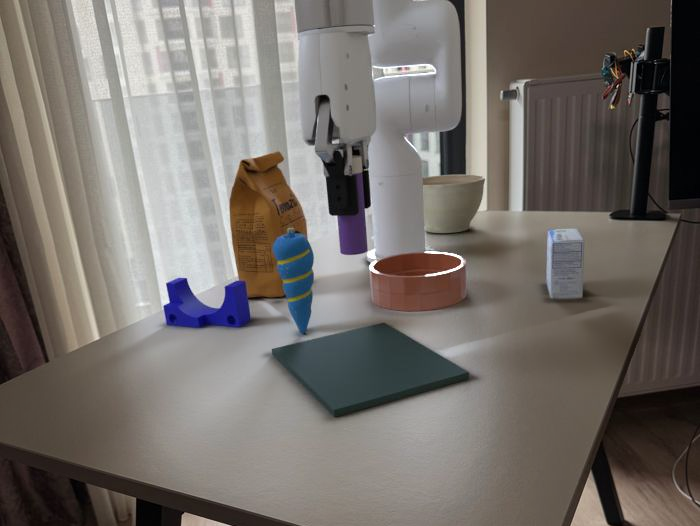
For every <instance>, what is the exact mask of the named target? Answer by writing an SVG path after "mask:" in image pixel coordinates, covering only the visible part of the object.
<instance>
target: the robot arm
mask: <svg viewBox="0 0 700 526" xmlns="http://www.w3.org/2000/svg"><path fill="white" fill-rule="evenodd" d="M293 3H294V11H295V23H296V33H297V40H298V42H299V43H298V62H297V63H298V65H297V66H298V67H297V69H298V96H299V97H298V98H299V111H300V114H299V115H300V126H301V137H302V140H303V142H304V143H305V144H306V145H308V146H309V147H313V146H314V153H315V155H316V156H318V158H319V159H320V160H321V163H322V169H323V170H322V171H323V175H324V177H325V184H326V185H325V186H326V195H327V196H326V197H327V206H328V207H327V208H328V214H329V215H330V216H333V217H337V216H346V215H357V214H358V213H359V201H358V188H357V175H352V173H353V164H352V156H361V157H362V177H363V191H364V205H365V210H366V209H369V208H371V217H372V230H373V231H372V232H373V234H372V235H371V237H370V238H371V240H372V241H373V245H374V248H373V249H371V250H370V251H367V253H366V260H367V261H368V262H369V263H370V264H371V263H373V262H375V261H377V260H379V259H382V258H385V257H388V256H392V255H397V254H404V253H413V252H435V249H434V248H433V247H431V246H429V245H426V230H425V224H424V198H423V178H424V177H423V176H424V175H423V161H422V157H421V155H420V153H419V151H417V149H416V148H415V146H414V145H412V143H411V142H410V141H409V140H408V139H407V138H406V136H408V135H415V134H426V133H427V134H429V133H438V132H439V133H440V132H447V131H452V130H453V129H455V128H456V127H457V126H458V125H459V124H460V122H461V117H462V110H463V91H462V88H463V87H462V85H463V84H462V53H461V51H462V50H461V49H462V48H461V30H460V29H461V28H460V20H459V15H458V12H457V9H456V7H455V5H454V4H453V3H452V2H451V1H450V0H294V1H293ZM415 66H430V67H431V68H432V69H433V70H434V72H428V73H416V74H401V75H391V76H383V77H378V78H375V79H374V71H373V68H378V69H393V68H405V67H415ZM335 141H338V143H336V142H335ZM333 142H335V143H333ZM342 156H343V157H342Z"/></svg>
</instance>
